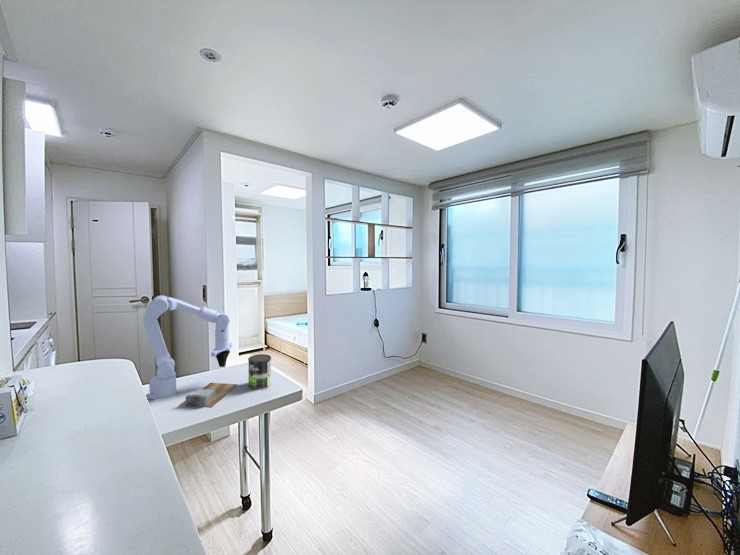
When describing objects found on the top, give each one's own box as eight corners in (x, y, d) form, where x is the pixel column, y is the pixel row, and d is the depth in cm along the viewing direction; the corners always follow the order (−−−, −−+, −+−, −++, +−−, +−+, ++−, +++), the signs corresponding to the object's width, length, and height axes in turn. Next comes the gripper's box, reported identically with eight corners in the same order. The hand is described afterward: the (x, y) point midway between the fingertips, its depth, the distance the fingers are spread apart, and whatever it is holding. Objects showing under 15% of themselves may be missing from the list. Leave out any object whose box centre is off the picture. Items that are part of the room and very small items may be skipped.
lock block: (190, 403, 125) (190, 395, 124) (200, 396, 131) (199, 389, 130) (206, 404, 124) (206, 396, 124) (215, 397, 130) (215, 390, 130)
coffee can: (258, 393, 137) (258, 363, 136) (243, 387, 142) (243, 358, 141) (275, 384, 146) (275, 356, 145) (260, 380, 151) (260, 352, 150)
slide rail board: (178, 407, 123) (178, 396, 122) (210, 384, 145) (210, 374, 144) (211, 409, 122) (211, 398, 122) (238, 385, 144) (238, 376, 143)
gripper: (221, 343, 135) (221, 372, 136) (237, 334, 149) (238, 361, 150) (206, 342, 135) (206, 371, 136) (224, 334, 150) (224, 360, 151)
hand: (222, 366), depth 143 cm, fingers closed
